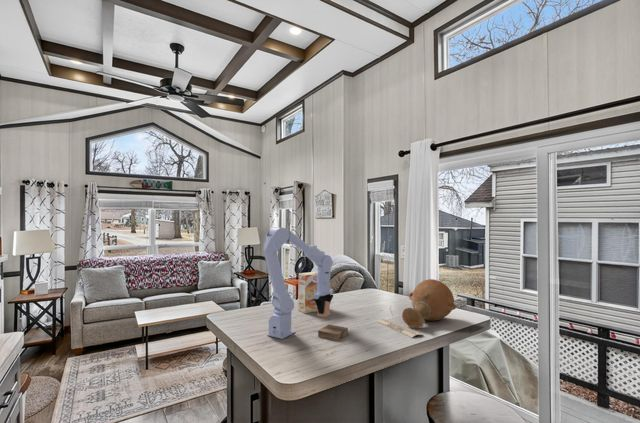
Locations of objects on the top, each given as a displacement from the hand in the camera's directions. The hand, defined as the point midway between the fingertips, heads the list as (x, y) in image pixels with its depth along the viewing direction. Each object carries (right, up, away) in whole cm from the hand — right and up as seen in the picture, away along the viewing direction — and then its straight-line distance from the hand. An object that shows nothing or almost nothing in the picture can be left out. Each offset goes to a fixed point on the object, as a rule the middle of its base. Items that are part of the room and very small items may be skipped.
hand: (323, 312), depth 145 cm
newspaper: (+33, -7, -3) cm, 34 cm away
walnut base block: (+4, -6, -12) cm, 14 cm away
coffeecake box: (-5, -7, +27) cm, 28 cm away
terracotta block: (0, -1, 0) cm, 1 cm away
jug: (+48, -7, +8) cm, 49 cm away
